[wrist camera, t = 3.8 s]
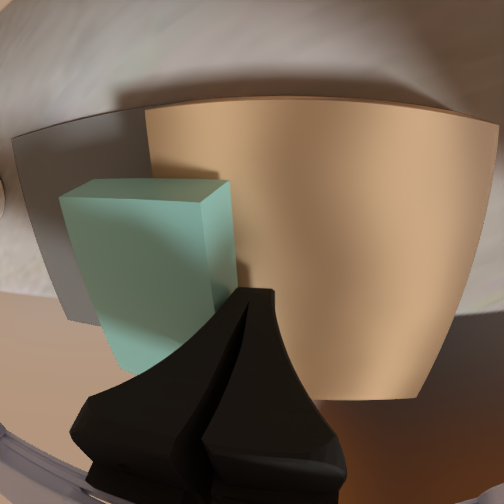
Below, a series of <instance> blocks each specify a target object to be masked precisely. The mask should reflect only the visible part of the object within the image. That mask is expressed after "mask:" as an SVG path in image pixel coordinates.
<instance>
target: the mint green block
mask: <svg viewBox="0 0 504 504" xmlns="http://www.w3.org/2000/svg"><path fill="white" fill-rule="evenodd" d="M59 201H60V205H61V209H62V213H63V216H64V220H65V224H66V227H67V231H68V234H69V238H70V241H71V244H72V247H73V251H74V254H75V257H76V260H77V263H78V266H79V269H80V272H81V275H82V277H83V280H84V283H85V286H86V289H87V291H88V294H89V297H90V299H91V302H92V304H93V307H94V310H95V312H96V314H97V317H98V319H99V322H100V324H101V327H102V329H103V331H104V334H105V336H106V338H107V340H108V343H109V345H110V347H111V349H112V351H113V354H114V356H115V358H116V360H117V362H118V364H119V366H120V368H121V369H123V370H125V371H128V372H130V373H133V374H135V375H139V374H141V373H143V372H145V371H146V370H148V369H150V368H151V367H153V366H154V365H156V364H157V363H159V362H160V361H162V360H163V359H165V358H166V357H168V356H169V355H170V354H172V353H173V352H174V351H175V350H177V349H178V348H179V347H180V346H182V345H183V344H184V343H185V342H186V341H188V340H189V339H190V338H191V337H192V336H193V335H194V334H195V333H196V332H197V331H198V330H199V329H200V328H201V327H202V326H203V325H204V324H205V323H206V322H207V321H208V320H209V319H210V318H211V317H212V316H213V315H214V314H215V313H216V312H217V311H218V309H219V308H220V307H221V306H222V305H223V304H224V302H225V301H226V300H227V299H228V298H229V296H230V295H231V294H232V293H233V291H234V290H235V289H236V288H237V287H238V279H237V267H236V255H235V243H234V231H233V218H232V205H231V192H230V180H217V179H179V178H119V179H93V180H91V181H89V182H87V183H85V184H83V185H81V186H79V187H77V188H75V189H73V190H71V191H69V192H68V193H66V194H64V195H62V196H60V197H59Z"/></svg>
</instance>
